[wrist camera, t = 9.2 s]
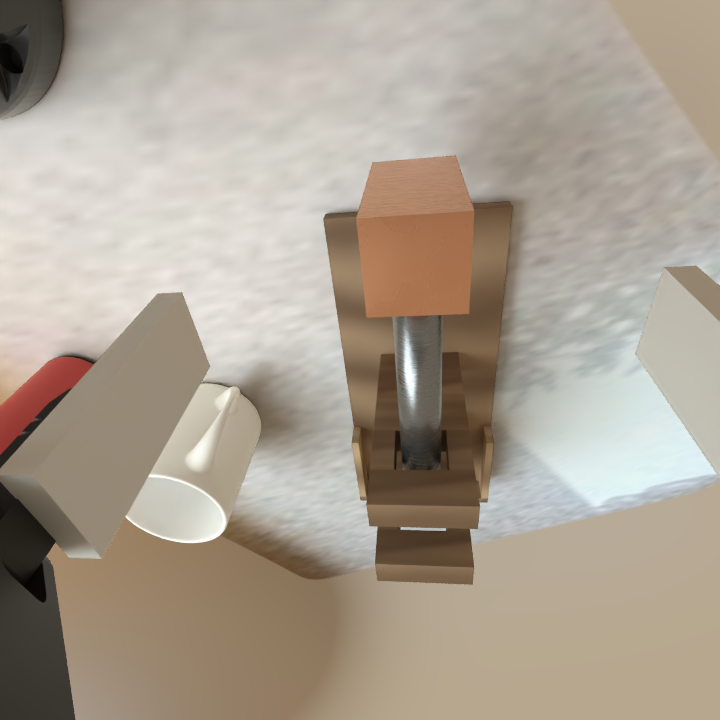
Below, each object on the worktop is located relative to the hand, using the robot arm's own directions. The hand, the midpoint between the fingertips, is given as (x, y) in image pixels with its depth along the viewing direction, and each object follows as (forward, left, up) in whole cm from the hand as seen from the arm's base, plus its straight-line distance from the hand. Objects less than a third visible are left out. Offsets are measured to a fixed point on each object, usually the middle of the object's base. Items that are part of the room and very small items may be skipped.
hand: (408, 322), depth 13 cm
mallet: (+9, 0, -12) cm, 15 cm away
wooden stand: (+16, 0, -19) cm, 24 cm away
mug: (+20, -18, -19) cm, 33 cm away
